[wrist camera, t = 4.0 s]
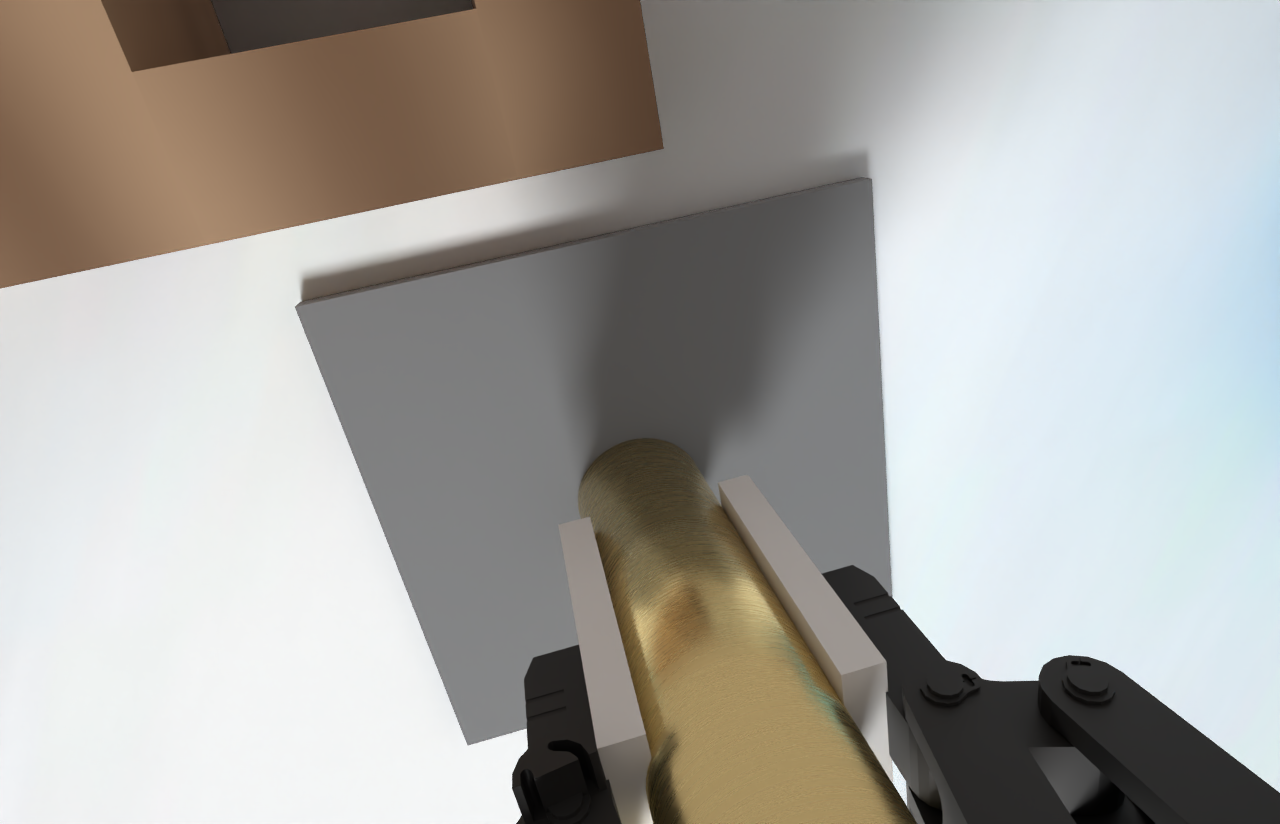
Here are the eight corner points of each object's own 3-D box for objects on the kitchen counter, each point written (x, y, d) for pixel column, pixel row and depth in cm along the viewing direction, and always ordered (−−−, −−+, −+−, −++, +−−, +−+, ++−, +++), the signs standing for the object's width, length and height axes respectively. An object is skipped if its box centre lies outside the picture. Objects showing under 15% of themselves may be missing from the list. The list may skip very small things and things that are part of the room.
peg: (591, 564, 20) (717, 1089, 9) (565, 456, 19) (674, 924, 8) (710, 532, 20) (966, 999, 9) (692, 424, 19) (968, 825, 8)
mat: (468, 732, 22) (467, 745, 22) (300, 301, 16) (295, 307, 16) (885, 611, 24) (893, 621, 23) (861, 177, 18) (871, 178, 17)
